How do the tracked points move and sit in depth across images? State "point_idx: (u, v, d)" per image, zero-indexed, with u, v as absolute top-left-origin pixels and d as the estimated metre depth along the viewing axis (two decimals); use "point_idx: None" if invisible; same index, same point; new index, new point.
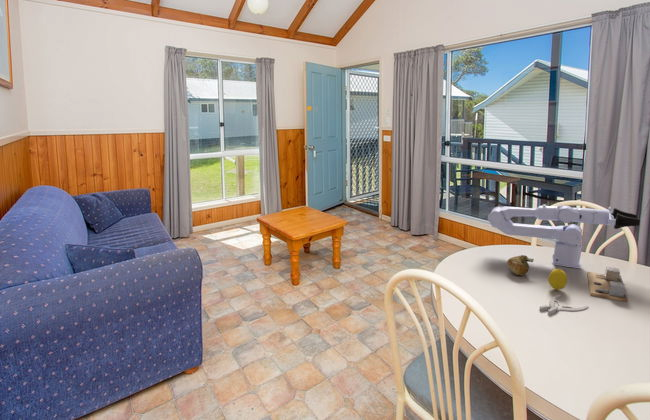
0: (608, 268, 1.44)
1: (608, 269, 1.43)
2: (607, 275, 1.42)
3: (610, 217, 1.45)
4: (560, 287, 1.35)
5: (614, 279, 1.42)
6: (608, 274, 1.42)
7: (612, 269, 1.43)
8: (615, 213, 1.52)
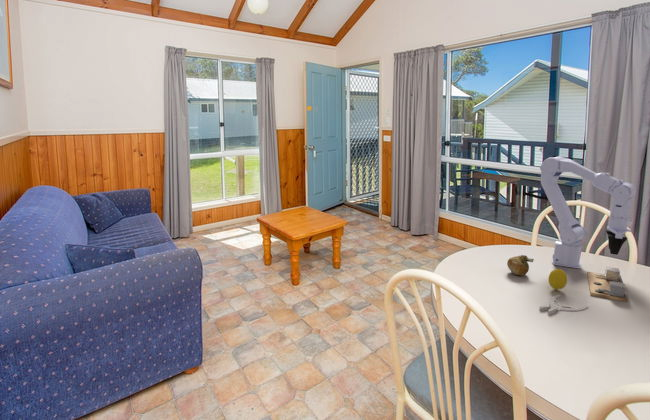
0: (608, 268, 1.44)
1: (608, 269, 1.43)
2: (607, 275, 1.42)
3: (623, 233, 1.40)
4: (560, 287, 1.35)
5: (614, 279, 1.42)
6: (608, 274, 1.42)
7: (612, 269, 1.43)
8: None
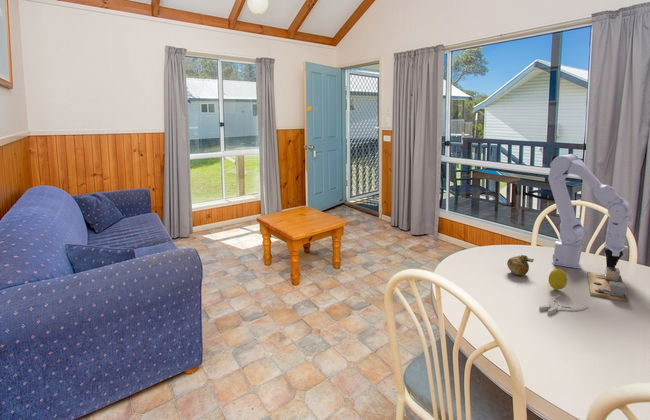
0: (608, 268, 1.44)
1: (608, 269, 1.43)
2: (607, 275, 1.42)
3: (620, 251, 1.41)
4: (560, 287, 1.35)
5: (614, 279, 1.42)
6: (608, 274, 1.42)
7: (612, 269, 1.43)
8: None
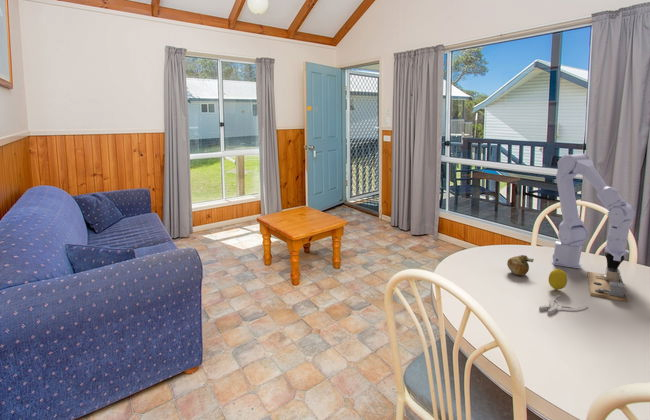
0: (608, 269, 1.43)
1: (608, 270, 1.42)
2: (607, 276, 1.42)
3: (621, 255, 1.38)
4: (560, 287, 1.35)
5: (614, 280, 1.41)
6: (608, 275, 1.42)
7: (612, 270, 1.42)
8: None
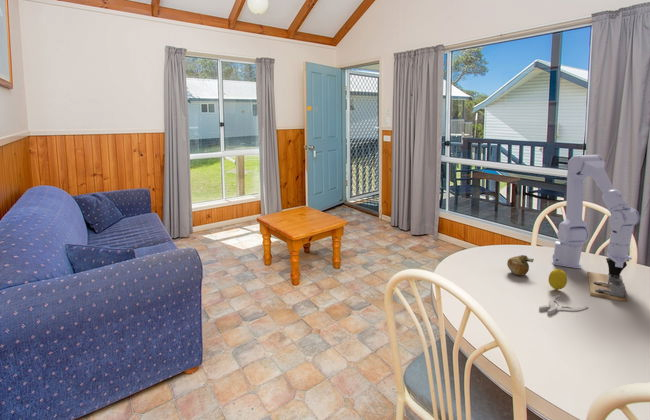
0: (610, 275, 1.38)
1: (610, 276, 1.37)
2: None
3: (623, 262, 1.33)
4: (560, 287, 1.35)
5: None
6: None
7: (614, 276, 1.37)
8: None
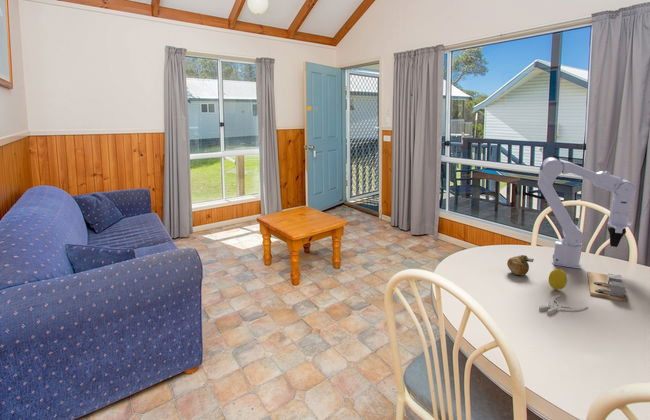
0: (610, 275, 1.38)
1: (610, 276, 1.37)
2: None
3: (623, 228, 1.46)
4: (560, 287, 1.35)
5: None
6: None
7: (614, 276, 1.37)
8: None
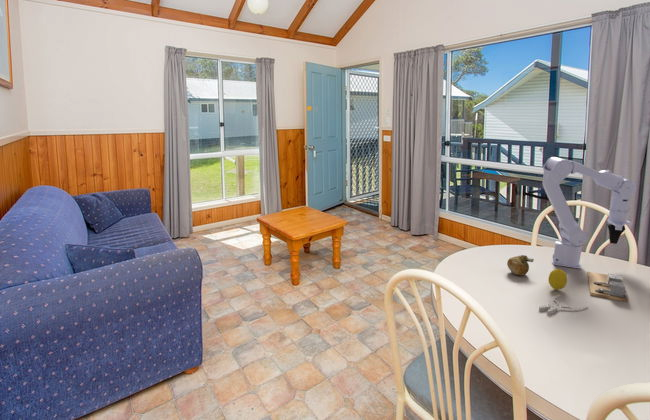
0: (610, 275, 1.38)
1: (610, 276, 1.37)
2: None
3: (622, 225, 1.49)
4: (560, 287, 1.35)
5: None
6: None
7: (614, 276, 1.37)
8: None
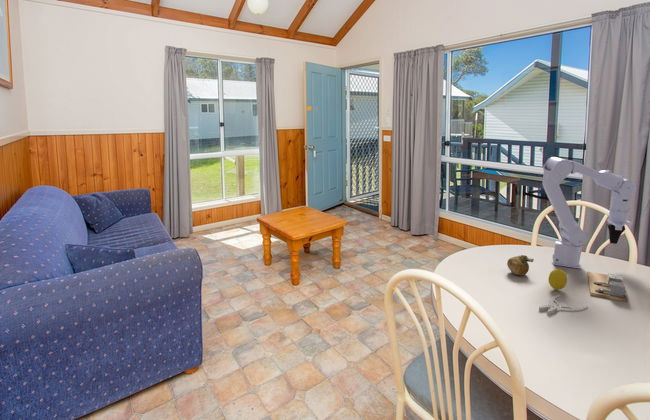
0: (610, 275, 1.38)
1: (610, 276, 1.37)
2: None
3: (622, 225, 1.49)
4: (560, 287, 1.35)
5: None
6: None
7: (614, 276, 1.37)
8: None
